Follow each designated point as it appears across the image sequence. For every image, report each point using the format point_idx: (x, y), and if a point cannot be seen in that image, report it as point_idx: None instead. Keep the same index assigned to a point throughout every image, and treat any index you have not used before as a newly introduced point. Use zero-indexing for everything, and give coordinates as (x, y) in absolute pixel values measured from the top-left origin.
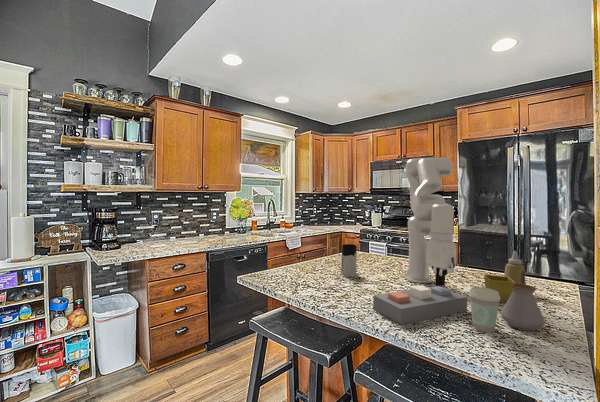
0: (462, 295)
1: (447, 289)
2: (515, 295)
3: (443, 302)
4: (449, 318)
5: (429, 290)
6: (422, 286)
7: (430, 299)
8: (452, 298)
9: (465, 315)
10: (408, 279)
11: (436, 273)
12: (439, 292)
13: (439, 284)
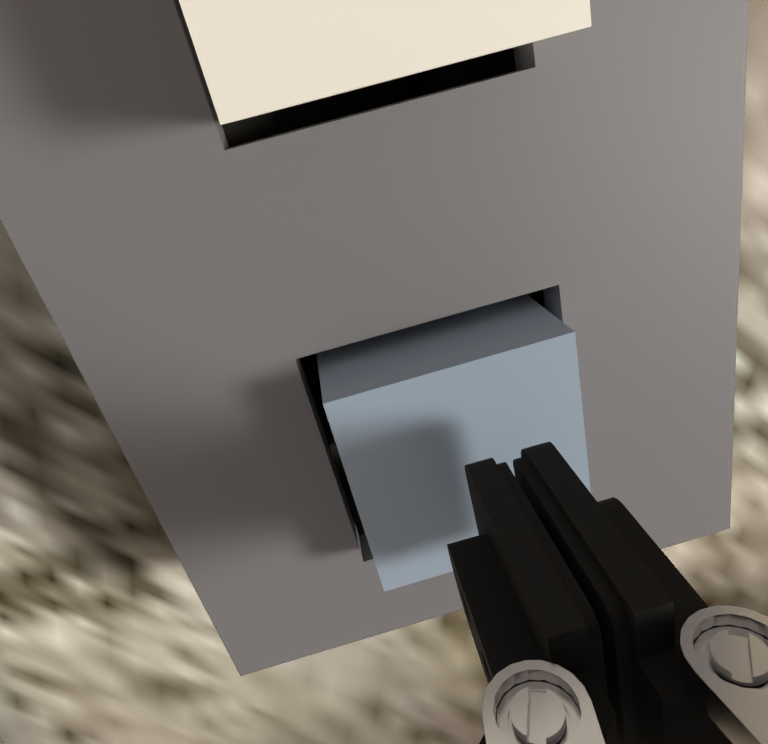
0: (305, 653)
1: (420, 561)
2: None
3: (23, 239)
4: (3, 231)
5: (200, 58)
6: (480, 16)
7: (110, 23)
8: (178, 474)
9: (119, 469)
10: None
11: (686, 657)
12: (353, 381)
13: (475, 497)
